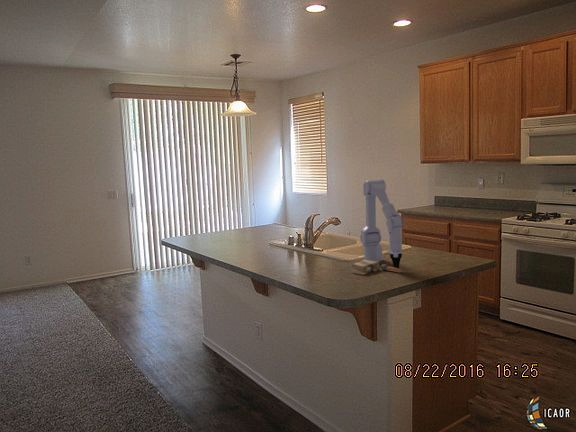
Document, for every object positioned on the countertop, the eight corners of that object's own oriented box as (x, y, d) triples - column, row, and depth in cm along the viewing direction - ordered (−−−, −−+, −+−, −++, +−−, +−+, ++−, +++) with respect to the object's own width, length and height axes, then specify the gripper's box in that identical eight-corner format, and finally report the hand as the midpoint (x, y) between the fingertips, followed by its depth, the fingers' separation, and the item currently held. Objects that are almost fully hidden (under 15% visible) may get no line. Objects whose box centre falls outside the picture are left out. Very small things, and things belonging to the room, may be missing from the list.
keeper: (380, 269, 233) (380, 265, 233) (384, 268, 235) (384, 264, 235) (398, 273, 225) (398, 268, 225) (402, 271, 227) (402, 267, 226)
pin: (353, 270, 235) (353, 264, 235) (361, 268, 239) (360, 262, 239) (366, 273, 229) (366, 267, 229) (374, 271, 233) (373, 265, 232)
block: (368, 267, 240) (367, 259, 239) (379, 269, 234) (378, 261, 234) (352, 272, 232) (351, 264, 231) (363, 274, 227) (362, 266, 226)
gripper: (387, 238, 236) (388, 265, 238) (386, 244, 222) (387, 272, 224) (402, 238, 234) (402, 265, 236) (402, 243, 220) (403, 272, 222)
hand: (396, 269), depth 230 cm, fingers closed, pressing on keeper
